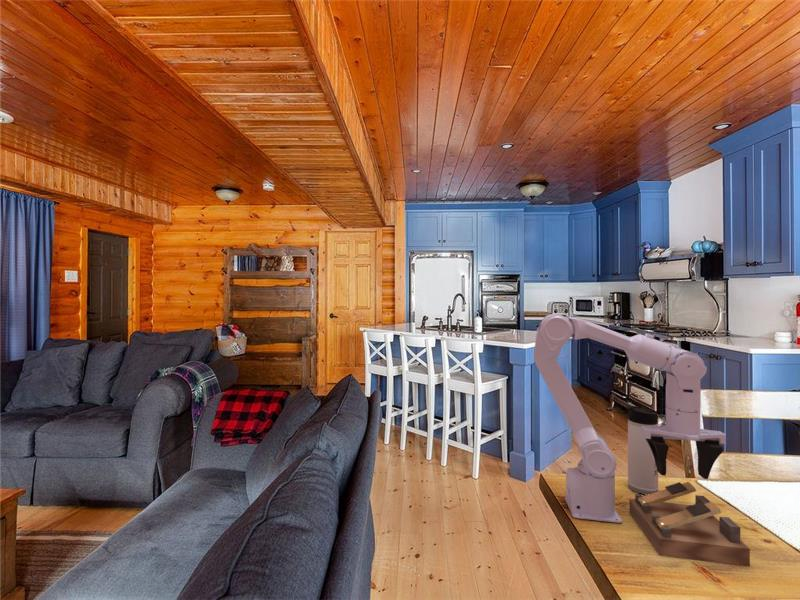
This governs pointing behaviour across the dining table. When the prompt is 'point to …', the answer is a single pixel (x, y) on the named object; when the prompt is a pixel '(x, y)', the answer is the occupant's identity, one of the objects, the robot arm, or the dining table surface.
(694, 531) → the brown strap fixture board
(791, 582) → the dining table surface
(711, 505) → the near strap
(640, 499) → the far strap
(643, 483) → the travel mug
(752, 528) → the dining table surface
